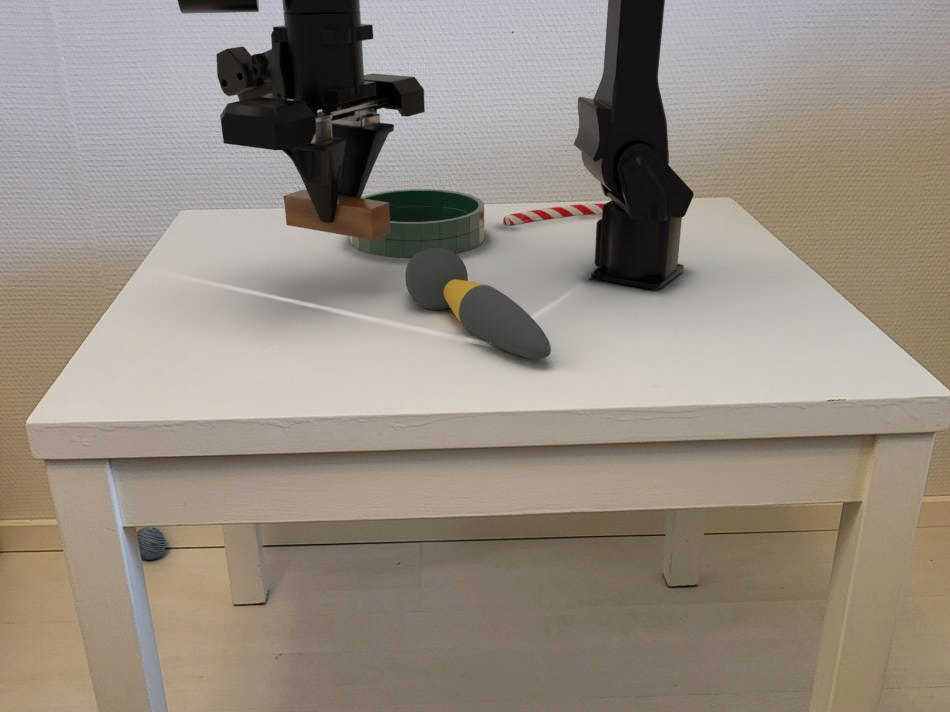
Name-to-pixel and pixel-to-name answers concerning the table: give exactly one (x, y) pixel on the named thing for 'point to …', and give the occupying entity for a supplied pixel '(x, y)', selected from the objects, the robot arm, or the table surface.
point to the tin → (427, 223)
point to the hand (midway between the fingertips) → (337, 218)
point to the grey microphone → (473, 303)
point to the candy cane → (552, 213)
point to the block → (340, 216)
